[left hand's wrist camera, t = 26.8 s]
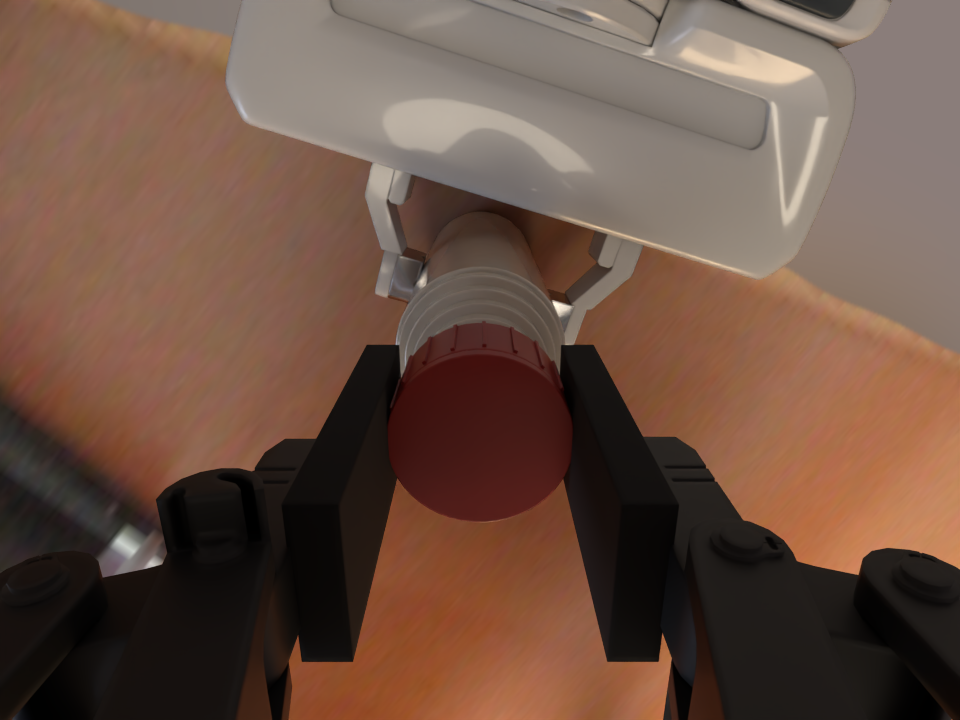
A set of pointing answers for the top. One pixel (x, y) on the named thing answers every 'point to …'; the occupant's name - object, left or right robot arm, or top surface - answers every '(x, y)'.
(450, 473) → the cap
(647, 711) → the top surface
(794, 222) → the right robot arm
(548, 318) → the bottle
